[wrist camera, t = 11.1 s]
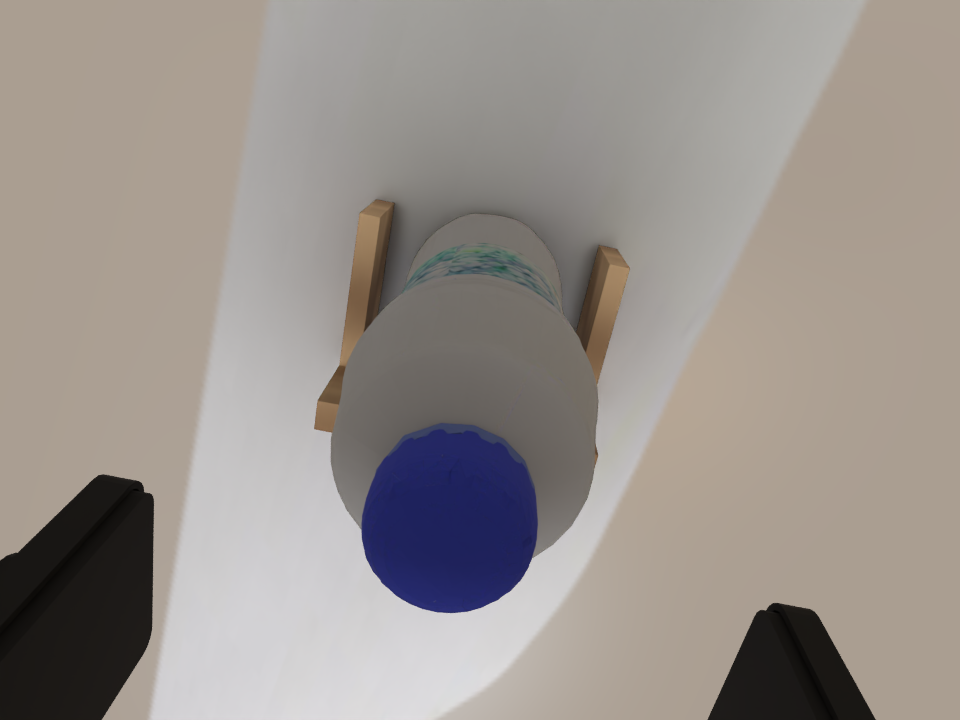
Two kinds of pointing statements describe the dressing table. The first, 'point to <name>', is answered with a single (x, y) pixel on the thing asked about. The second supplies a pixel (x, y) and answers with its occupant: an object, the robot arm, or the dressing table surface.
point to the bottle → (466, 419)
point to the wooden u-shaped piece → (368, 286)
